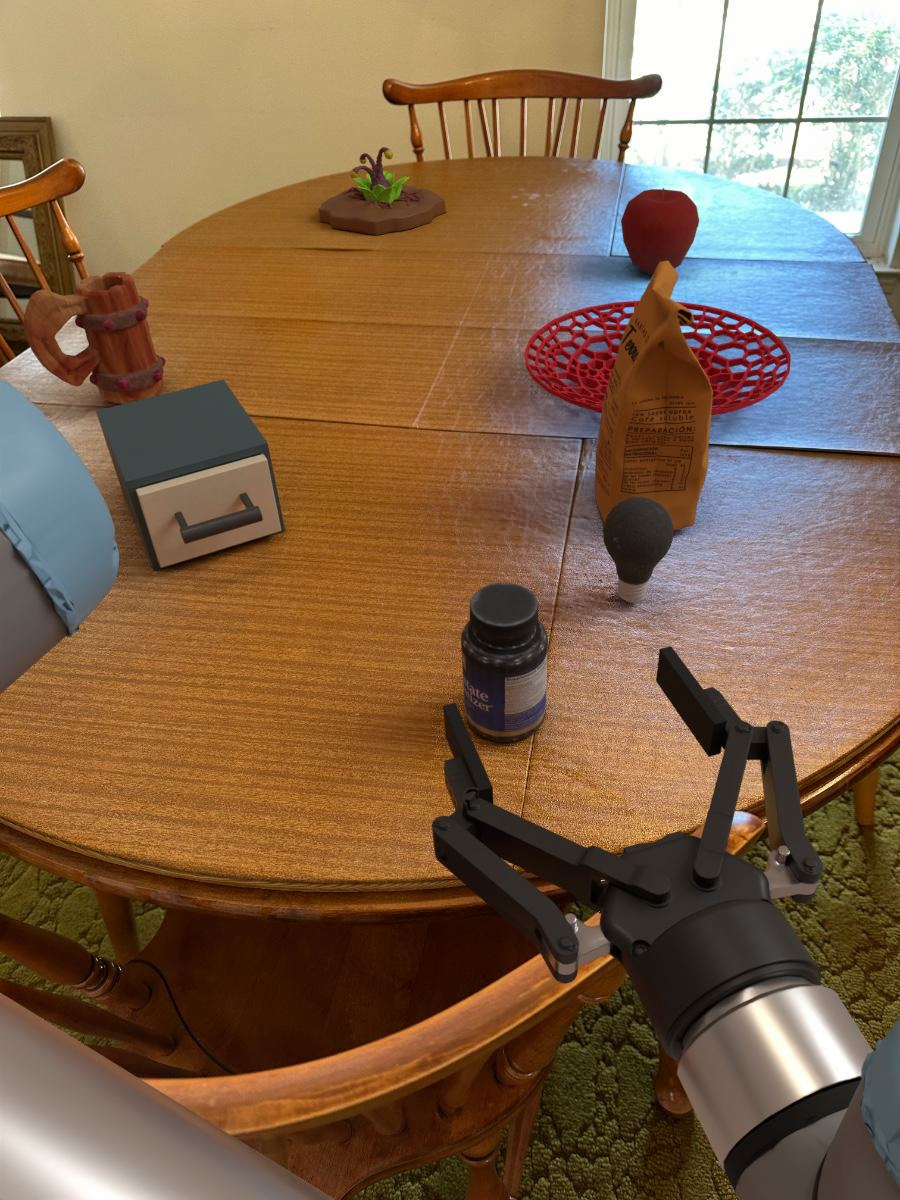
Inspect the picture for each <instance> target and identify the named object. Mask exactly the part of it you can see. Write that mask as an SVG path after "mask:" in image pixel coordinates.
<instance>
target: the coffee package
mask: <svg viewBox="0 0 900 1200" xmlns="http://www.w3.org/2000/svg"><path fill="white" fill-rule="evenodd" d="M678 278H679V272H678V270H676V268H675V269H674V267H673V266H672V265H671V264H670V263H669V261H663V262H660V263H659V264H658V265H657V267H656V269H655V272H654V274H652V276H651V279H650V281H649V282H648V284H647V286H646V288H645V290H644V291H643V294H642V295H641V296H640V300H638V301H639V304H638V306H637V308H636V310H635V312H634V311H633V312H634V313H633V312H632V313H633V315H632V317H631V318H630V319H629V320H628V322H627V323H626V324H627V327H626V329H625V331H623V337H622V340H620V343H619V344H620V345H619V351H618V354H616V361H615V365H614V368H613V371H612V374H611V377H610V380H609V383H608V386H607V390H606V393H605V396H604V400H603V406H602V413H601V417H600V424H599V429H598V436H597V444H596V453H595V454H596V455H595V465H594V466H595V468H594V497H595V500H596V501H595V502H596V504H597V505H596V506H597V508H598V510H599V513H600V516H601V519H602V522H603V523H604V522H605V520H606V517H607V515H608V514H609V512H610V511H611V510H612V509H613V507H615V506H616V505H617V504H618V503H620V502H622V501H624V500H626V499H628V498H632V497H645V498H650V499H652V500H654V501H656V502H658V503H659V504H661V505H662V506H663V507H664V508H665V509H666V511H667V512H668V513H669V515H670V517H671V520H672V523H673V531H676V530H680V529H684V528H690V527H694V525H695V523H696V522H695V521H696V515H697V514H696V513H697V509H698V501H699V499H700V496H701V493H702V490H703V487H704V485H705V482H706V478H707V474H708V467H709V450H710V436H711V426H712V425H711V423H712V416H711V412H712V407H713V406H712V396H713V390H712V387H711V385H710V382H709V380H708V378H707V376H706V374H705V372H704V370H703V368H702V367H701V365H700V363H699V361H698V360H697V358H696V356H695V355H694V353H693V351H692V350H691V348H690V347H691V346H690V345H689V343H688V342H687V339H685V338H684V336H683V333H684V332H683V330H682V328H681V326H680V323H682V324H686V325H688V324H691V323H693V322H695V321H694V318H693V315H694V314H693V312H692V310H690V309H687V308H686V307H684V306H682V305H681V304H679V303H678V302H679V301H676V300H673V299H672V298H671V297H672V295H673V292H674V288H675V286H676V284H677V282H678ZM689 346H690V347H689Z"/></svg>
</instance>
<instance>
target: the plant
mask: <svg viewBox="0 0 900 1200" xmlns="http://www.w3.org/2000/svg"><path fill="white" fill-rule="evenodd" d="M383 155H384V157H385V158H386V159H387V160H392V159H393V157H394V152H393V151H392V149H390V148H389V147H386V146H382V147H381V148H380V149H379V150H378V153H377V156H376V160H375V159H374V158H373V157H372V156H371V155H370V154H368V153H367V152H364V153H362V154H360V156H359V163H360V164H362V165H358V166H356V167H354V168H352V169H351V170H350V172H349V175H350V178H351V179H352V180H353V181H354V182H355V183H357V185H358V186H356V187H355V186H352V187H349V188H348V189H345V190H344V191H341V192H340V193H338V194H337V195H335V196H332V197H330V198H328V199H327V200H325V201H324V202H323V203H321V206H320V207H319V208H318V215H319V222H320V223H327V224H329V225H331V228H332V229H335V230H341V231H348V232H355V233H360V234H365V235H371V236H379V235H385V234H390V233H395V232H397V233H398V232H404V231H409V230H412V229H415V228H417V227H420V226H424V225H427V224H429V223H431V221H432V220H433V219H434V218H435V217H438V216H440V215H442V214H445V213H446V212H447V211H446V200H445V198H443V197H441V196H440V195H438V194H437V193H435V192H434V191H432V190H431V189H430V188H429V189H428V188H418V187H417V186H414V185H413V186H412V185H406V184H405V183H406V182H408V180H409V178H410V175H405V176H403V177H401V178H399V179H398V180H397V181H395V171H391V172H390V173H389V172H388V171H387V170H384V168H383V162H382V161H383V159H382V158H383ZM367 161H368V162H369V165H370V166H371V169H370V167H368V166H367V165H364V164H366V163H367ZM360 170H364V171H366V174H365V179H366V180H365V179H364V178H362V177H358V176H359V171H360Z"/></svg>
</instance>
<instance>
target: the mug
mask: <svg viewBox="0 0 900 1200" xmlns="http://www.w3.org/2000/svg"><path fill="white" fill-rule="evenodd" d="M137 289H138V288H137V286H136V284H135V279H134V278H133V277H132V275H131V274H130V273H127V274H126V271H119V272H118V271H108V272H105V274H103V275H101V276H100V275H90V276H88V277H85V278H83V279H82V280H80V282H79V283H78V284H76V286H75V293H72V294H66V295H62V294H58V293H56V292H52V291H51V290H48V289H39V290H36V291H35V292H34V293H33V294H31V295H30V297H29V299H28V302H27V304H26V307H25V310H24V314H23V332H24V336H25V339H26V341H27V344H28V345H29V347H30V349H31V352H32V353H33V355H34V357H35V358H36V359H37V360H38V362H39V363H40V365H41V366H42V367H43V368H44V369H46V371H48V372H49V373H50V374H52V375H53V376H55V377H56V378H58V379H59V380H61V381H63V382H65V383H66V384H69V385H71V386H74V387H80V386H82V385H83V384H84V382H85V381H86V379H87V378H88V377H89V382H90V383H91V384H92V385H93V386H96V387H97V388H98V389H97V390H98V394H99V396H100V398H101V399H103V400H105V401H108V402H111V403H114V404H118V405H122V404H126V403H130V402H134V401H138V400H142V399H146V398H150V397H154V396H158V394H159V393H160V391H161V390H162V389H163V387H164V380H163V377H164V373H165V372H164V366H165V365H166V361H167V360H166V359H165V357H163V356H159V355H158V354H157V353H156V350H155V346H154V343H153V339H152V336H151V335H152V334H151V330H150V325H149V323H148V320H147V317H148V315H149V314H148V308H149V306H150V303H149V299H147V298H145V297H143V296H142V295H139V292H138V290H137ZM72 317H75V319H74V324H75V325H76V327H78V328H80V329H83V330H84V333H85V337H86V340H87V344H88V345H87V347H86V348H84V349H83V350H82V351H80V352H78V353H77V354H75V355H73V354H66V353H65V352H63V350H62V348H61V347H60V345H59V343H58V341H57V340H56V335H57V334H58V333H59V332H60V331H61V330H62V329H63V328H64V327H65V325H66V324H67V323H68V322H69V320H71V318H72ZM89 375H90V376H89Z"/></svg>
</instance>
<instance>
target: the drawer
mask: <svg viewBox="0 0 900 1200" xmlns="http://www.w3.org/2000/svg"><path fill="white" fill-rule="evenodd" d="M136 493H137V496H138V499H139V502H140V505H141V509H142V512H143V515H144V518H145V521H146V524H147V528H148V531H149V534H150V537H151V540H152V544H153V547H154V550H155V553H156V556H157V560H158V562H159V565H160V567H161V568H162V567H165V566H168V565H172V564H175V563H178V562H181V561H185V560H188V559H191V558H194V557H198V556H201V555H204V554H208V553H211V552H214V551H217V550H221V549H224V548H227V547H230V546H234V545H237V544H240V543H243V542H247V541H250V540H253V539H256V538H260V537H263V536H266V535H269V534H273V533H276V532H279V531H281V526H280V521H279V516H278V511H277V506H276V501H275V496H274V491H273V486H272V481H271V476H270V471H269V466H268V461H267V459H266V457H265V456H264V454H261V455H257V456H254V457H252V456H249V457H245V458H242V459H238V460H234V461H231V462H227V463H224V464H220V465H216V466H213V467H209V468H206V469H202V470H198V471H195V472H191V473H188V474H184V475H181V476H177V477H173V478H170V479H166V480H163V481H159V482H155V483H152V484H148V485H145V486H141V487H139V489H136ZM279 533H280V532H279ZM276 534H277V533H276ZM273 535H274V534H273ZM266 537H267V536H266ZM263 538H264V537H263ZM260 539H261V538H260ZM253 541H254V540H253ZM250 542H251V541H250ZM247 543H248V542H247ZM240 545H241V544H240ZM237 546H238V545H237ZM234 547H235V546H234ZM227 549H228V548H227ZM224 550H225V549H224ZM221 551H222V550H221ZM214 553H215V552H214ZM211 554H212V553H211ZM208 555H209V554H208ZM201 557H202V556H201ZM198 558H199V557H198ZM188 561H189V560H188ZM185 562H186V561H185ZM175 565H176V564H175ZM172 566H173V565H172ZM162 569H163V568H162Z"/></svg>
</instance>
